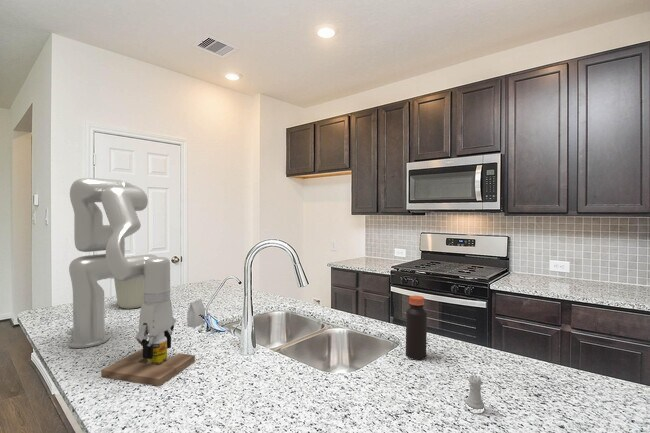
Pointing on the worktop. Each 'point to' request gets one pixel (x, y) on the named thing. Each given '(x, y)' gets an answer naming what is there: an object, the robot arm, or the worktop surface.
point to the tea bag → (195, 313)
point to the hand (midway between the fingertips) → (157, 352)
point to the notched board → (147, 369)
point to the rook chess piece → (475, 393)
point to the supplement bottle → (159, 349)
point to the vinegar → (416, 328)
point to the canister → (130, 293)
